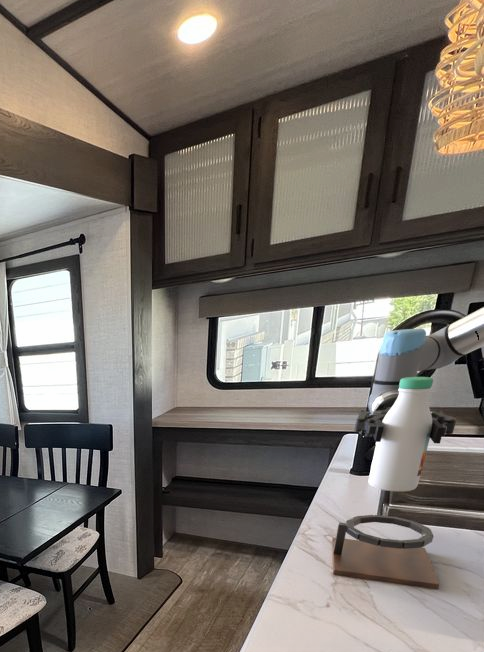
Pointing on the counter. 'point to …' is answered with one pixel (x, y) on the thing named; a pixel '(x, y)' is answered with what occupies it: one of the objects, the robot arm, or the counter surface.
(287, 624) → the counter surface
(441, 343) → the robot arm
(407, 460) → the milk bottle
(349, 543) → the ring holder
